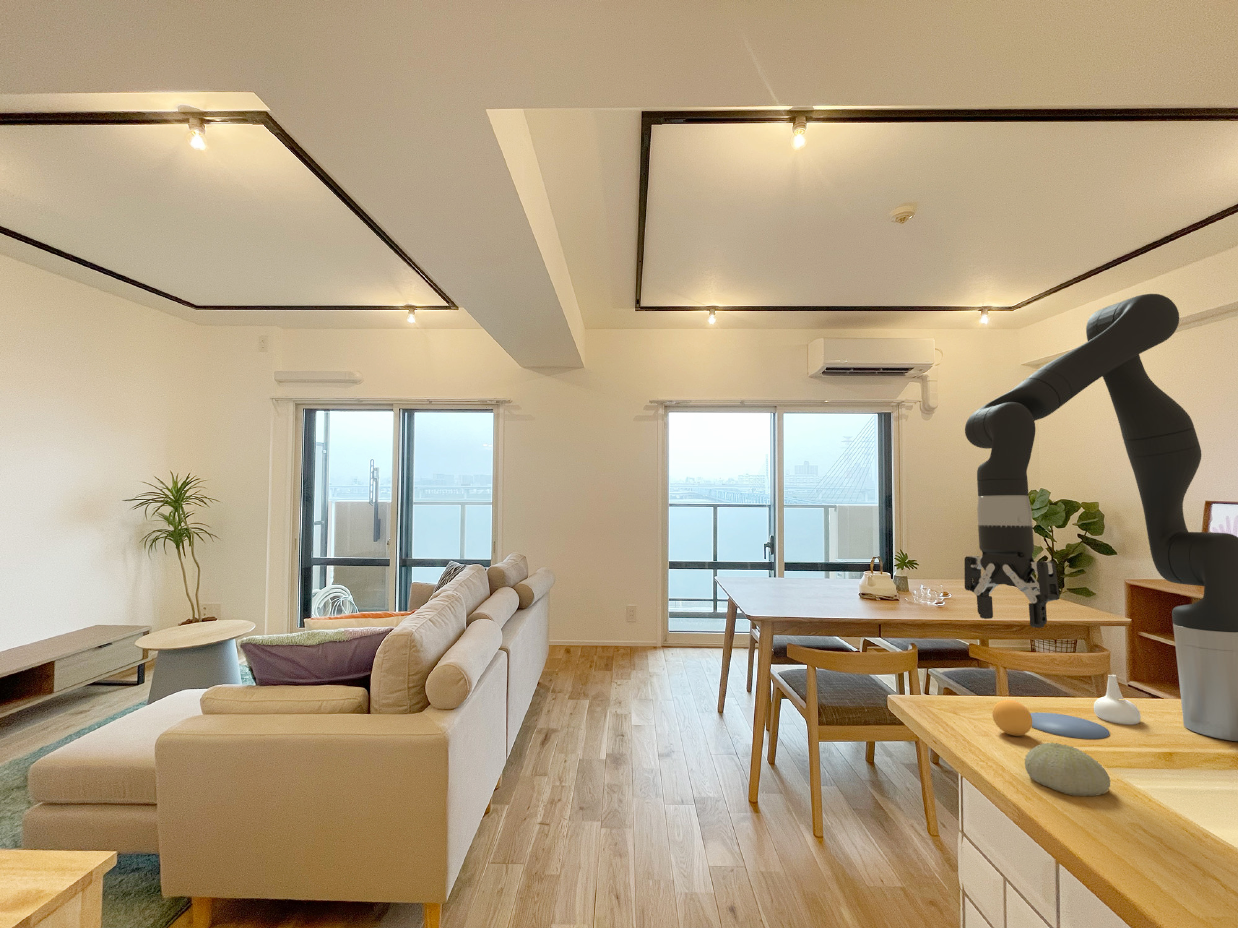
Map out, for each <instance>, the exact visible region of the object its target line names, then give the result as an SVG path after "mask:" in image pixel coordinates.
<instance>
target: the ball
mask: <svg viewBox="0 0 1238 928" xmlns="http://www.w3.org/2000/svg"><path fill="white" fill-rule="evenodd" d="M1030 713H1031V712H1030V710H1028V709H1027V707H1026V706H1024V705H1023V704H1022V703H1020V702H1018V701H1016V700H1013V699H1003V700H1000V701H998V702H997V703H995V705H994V706H993V709H992V713H991V714H992V719H993V721H994V723H995V725H996V726H997V727H998V728H999V730H1000V731H1002V732H1004V733H1006V734H1007V735H1010V736H1016V737H1017V736H1018V737H1020V736H1023V735H1026V734H1027V733H1029V732H1030V730H1031V729H1032V728H1033V727H1032V717H1031V714H1030Z"/></svg>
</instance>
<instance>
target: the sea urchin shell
mask: <svg viewBox="0 0 1238 928" xmlns="http://www.w3.org/2000/svg"><path fill="white" fill-rule="evenodd" d="M1024 767H1025V771H1026V772H1027V774H1028V775H1029V777H1030V778H1031V779H1032V781H1035V782H1037V783H1038V784H1041V785H1043V786H1044V787H1046V788H1047V787H1048V788H1051V789H1052V790H1053V791H1057V792H1060V793H1063V794H1065V795H1069V796H1073V797H1074V796H1081V797H1083V796H1084V797H1088V796H1091V797H1092V796H1094V797H1096V796H1100V795H1104V794H1107V792H1108V791H1109V789H1110V787H1111V779H1110V776H1109V774H1108V772H1107V771H1106V769H1105V767H1103V766H1102V764H1101V763H1099V761H1098V760H1096V759H1094V758H1093V757H1092V756H1091V755H1089V754H1087V753H1086V752H1083V751H1082V750H1080V749H1078V748H1076V747H1074V746H1072V745H1071V746H1070V745H1068V744H1061V743H1057V742H1046V743H1041V744H1037V745H1036V746H1034V747H1033V748H1031V749H1030V750H1029V751H1028V752H1027V754H1026V755H1025V758H1024Z"/></svg>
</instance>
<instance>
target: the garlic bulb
mask: <svg viewBox="0 0 1238 928" xmlns="http://www.w3.org/2000/svg"><path fill="white" fill-rule="evenodd" d="M1119 699H1125V698H1124V697H1123V695H1122V693H1121V690H1120V686H1119V683H1118V679H1117V675H1116V674H1108V675H1107V685H1106V692H1105V695H1104V696H1102V697H1099V698H1097V699H1096V700H1095V701H1094V703H1093V711H1094V714H1095V715H1096V716H1097V717H1098V718H1099V719H1101V720H1103V721H1106V722H1109V723H1112V724H1113V723H1114V724H1119V725H1126V726H1127V725H1128V726H1131V725H1133V726H1134V725H1138V724H1139V723H1140V722H1141V719H1142V718H1141V717H1142V716H1141V712H1140V710H1139V708H1138V707H1137V706H1136V704H1134V703H1133V702H1131V701H1130V700H1128V699H1126V700H1119Z"/></svg>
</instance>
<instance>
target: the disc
mask: <svg viewBox="0 0 1238 928" xmlns="http://www.w3.org/2000/svg"><path fill="white" fill-rule="evenodd" d="M1030 714H1031V717H1032V727H1031V728H1033V729H1035V728H1036V729H1035V730H1038V731H1042V732H1043V733H1044V732H1045V733H1048V734H1052V735H1056V736H1060V737H1067V738H1072V739H1073V738H1074V739H1080V738H1082V739H1083V740H1100V739H1105V738H1107V737H1109V736H1110V734H1111V733H1110V731H1109V729H1108V728H1107V727H1105V725H1104V726H1103V725H1101V724H1099V723H1097V722H1095V721H1091V720H1088V719H1085V718H1082V717H1078V716H1074V715H1073V716H1072V715H1067V714H1062V713H1061V714H1060V713H1055V712H1054V713H1053V712H1030ZM1082 739H1081V740H1082Z"/></svg>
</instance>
